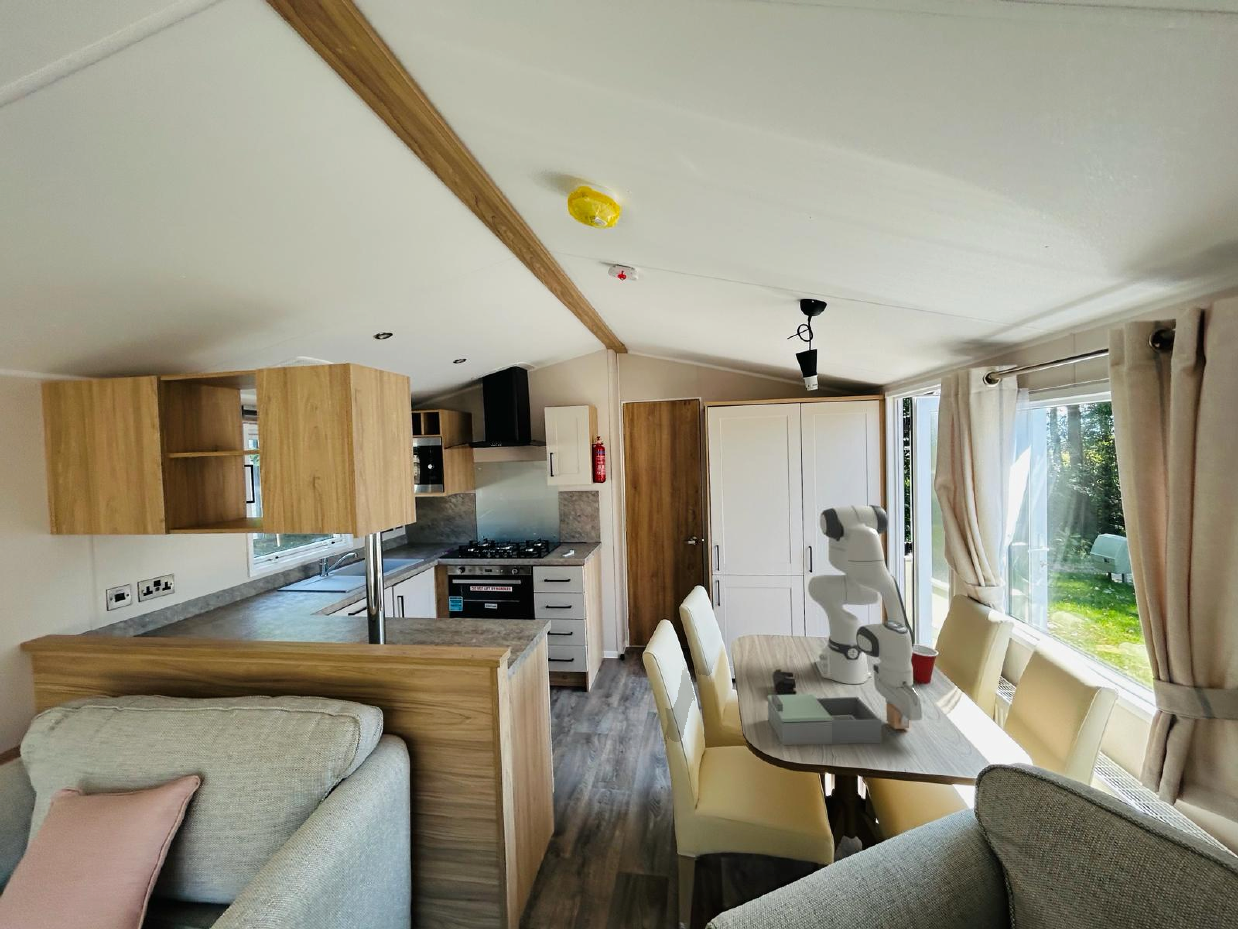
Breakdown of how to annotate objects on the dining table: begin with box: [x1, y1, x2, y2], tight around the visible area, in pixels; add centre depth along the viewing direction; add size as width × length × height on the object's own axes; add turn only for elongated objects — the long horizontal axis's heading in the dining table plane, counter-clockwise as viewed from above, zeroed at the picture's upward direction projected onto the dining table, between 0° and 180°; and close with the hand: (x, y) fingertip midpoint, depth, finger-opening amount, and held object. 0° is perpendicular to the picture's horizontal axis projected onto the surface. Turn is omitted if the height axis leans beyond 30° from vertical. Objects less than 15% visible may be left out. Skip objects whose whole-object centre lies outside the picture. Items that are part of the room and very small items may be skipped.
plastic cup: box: [911, 643, 939, 684], centre depth 185 cm, size 11×11×12 cm
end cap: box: [772, 668, 797, 695], centre depth 179 cm, size 10×7×7 cm
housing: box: [767, 696, 882, 746], centre depth 154 cm, size 15×29×6 cm, turn 90°
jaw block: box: [885, 703, 910, 730], centre depth 154 cm, size 4×4×6 cm
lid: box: [767, 693, 831, 722], centre depth 154 cm, size 15×15×3 cm
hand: (897, 719), depth 154 cm, fingers closed on jaw block, 4 cm apart
